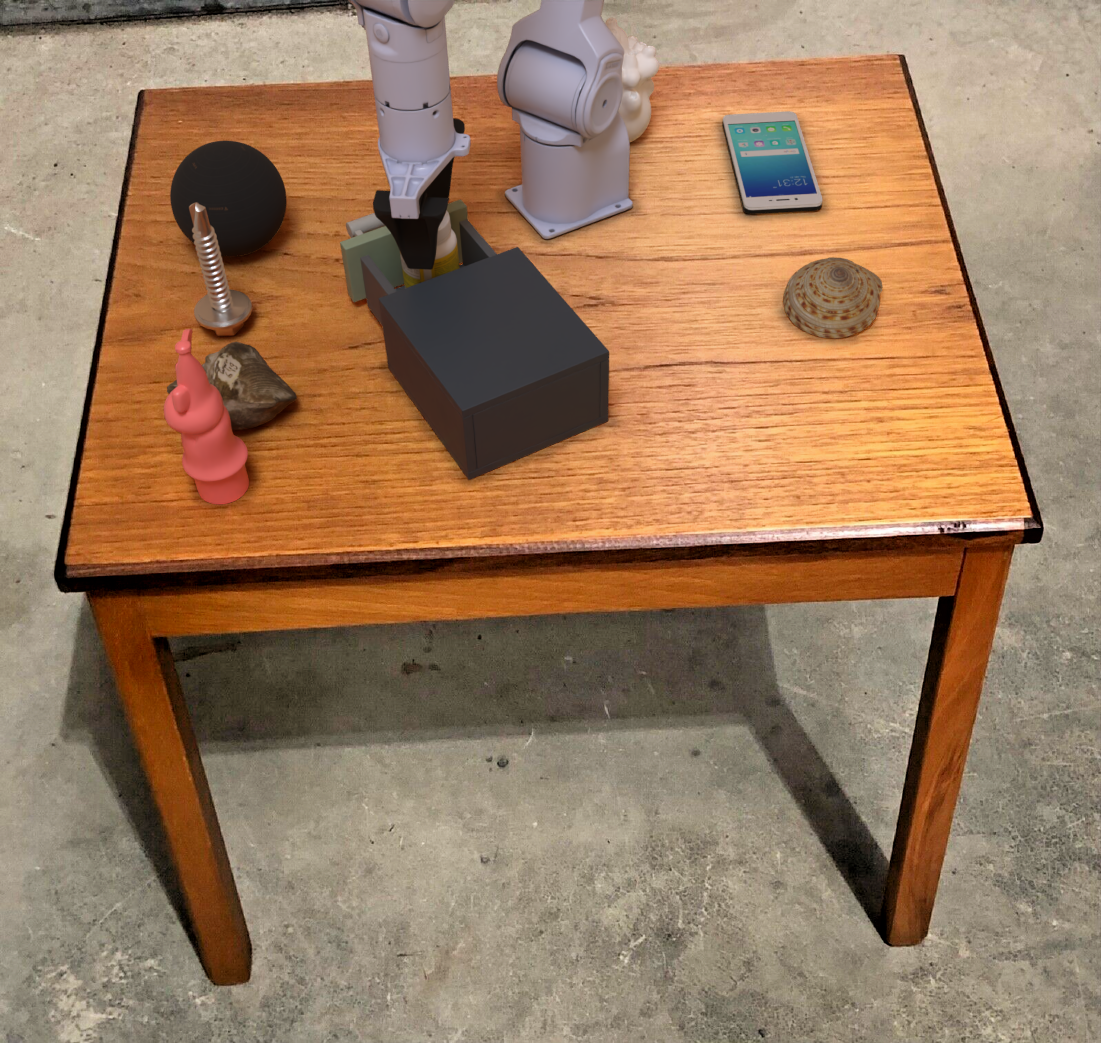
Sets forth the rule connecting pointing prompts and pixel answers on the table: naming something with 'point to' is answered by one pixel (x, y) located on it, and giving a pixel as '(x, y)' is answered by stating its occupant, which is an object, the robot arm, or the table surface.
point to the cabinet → (495, 361)
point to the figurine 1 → (205, 431)
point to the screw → (216, 282)
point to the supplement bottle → (443, 260)
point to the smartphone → (771, 163)
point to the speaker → (230, 195)
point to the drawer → (396, 255)
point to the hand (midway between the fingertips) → (427, 236)
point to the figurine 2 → (635, 80)
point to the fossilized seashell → (246, 385)
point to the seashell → (832, 297)
